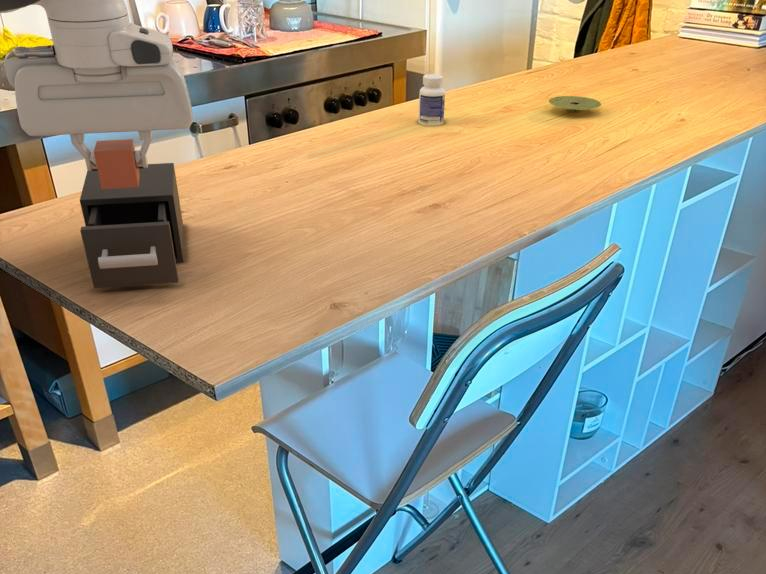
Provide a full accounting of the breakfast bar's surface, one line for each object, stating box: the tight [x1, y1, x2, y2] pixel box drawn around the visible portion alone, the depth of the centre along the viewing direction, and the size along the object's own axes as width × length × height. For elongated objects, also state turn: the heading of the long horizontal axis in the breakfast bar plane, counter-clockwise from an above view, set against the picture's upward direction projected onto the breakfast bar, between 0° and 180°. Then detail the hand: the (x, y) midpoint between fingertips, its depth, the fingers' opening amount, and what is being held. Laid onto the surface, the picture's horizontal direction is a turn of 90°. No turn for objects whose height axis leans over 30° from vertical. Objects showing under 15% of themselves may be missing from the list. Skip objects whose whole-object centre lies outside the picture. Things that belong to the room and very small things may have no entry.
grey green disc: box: [548, 95, 602, 113], centre depth 177 cm, size 11×11×2 cm
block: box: [93, 138, 140, 189], centre depth 102 cm, size 4×4×4 cm
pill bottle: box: [418, 73, 446, 127], centre depth 166 cm, size 5×5×9 cm
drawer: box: [79, 201, 179, 289], centre depth 108 cm, size 17×11×8 cm, turn 11°
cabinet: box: [79, 162, 185, 264], centre depth 116 cm, size 14×12×10 cm
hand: (118, 168), depth 102 cm, fingers closed on block, 4 cm apart
